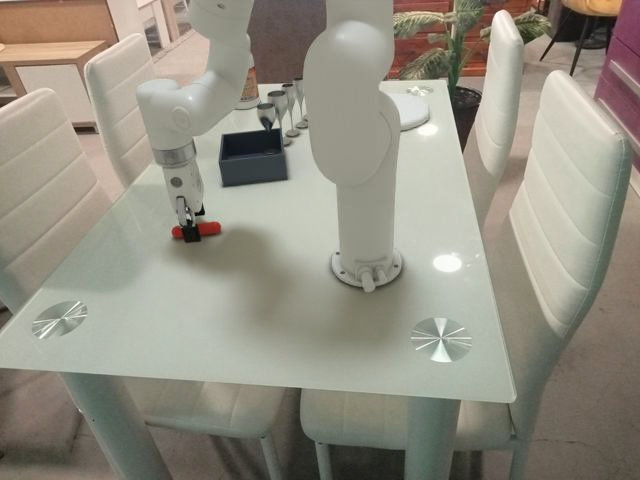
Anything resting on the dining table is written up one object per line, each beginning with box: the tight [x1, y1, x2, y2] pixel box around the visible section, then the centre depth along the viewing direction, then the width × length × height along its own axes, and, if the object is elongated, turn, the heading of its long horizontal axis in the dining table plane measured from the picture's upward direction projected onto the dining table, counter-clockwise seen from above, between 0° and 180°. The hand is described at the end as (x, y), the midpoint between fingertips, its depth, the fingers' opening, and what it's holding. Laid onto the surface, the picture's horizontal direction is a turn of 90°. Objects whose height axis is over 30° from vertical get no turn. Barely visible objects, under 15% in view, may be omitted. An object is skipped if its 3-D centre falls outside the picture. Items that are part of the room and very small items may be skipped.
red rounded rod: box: [170, 221, 222, 239], centre depth 97 cm, size 10×2×2 cm, turn 96°
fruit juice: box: [235, 32, 261, 110], centre depth 146 cm, size 9×9×28 cm
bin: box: [217, 127, 288, 187], centre depth 117 cm, size 15×15×6 cm
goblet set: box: [256, 73, 308, 154], centre depth 129 cm, size 28×6×13 cm, turn 153°
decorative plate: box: [385, 92, 430, 132], centre depth 138 cm, size 25×4×25 cm
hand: (195, 227), depth 97 cm, fingers open, 8 cm apart
